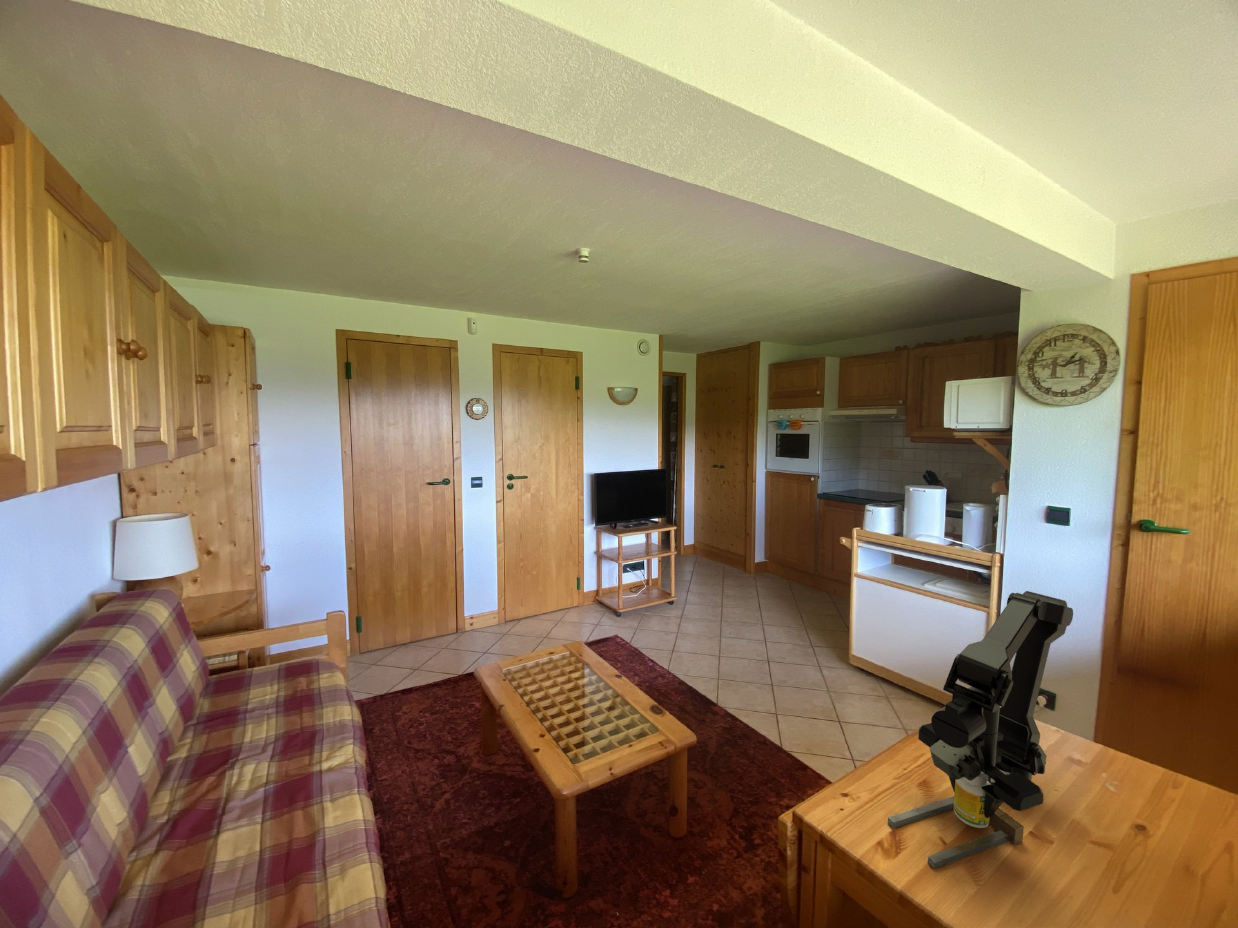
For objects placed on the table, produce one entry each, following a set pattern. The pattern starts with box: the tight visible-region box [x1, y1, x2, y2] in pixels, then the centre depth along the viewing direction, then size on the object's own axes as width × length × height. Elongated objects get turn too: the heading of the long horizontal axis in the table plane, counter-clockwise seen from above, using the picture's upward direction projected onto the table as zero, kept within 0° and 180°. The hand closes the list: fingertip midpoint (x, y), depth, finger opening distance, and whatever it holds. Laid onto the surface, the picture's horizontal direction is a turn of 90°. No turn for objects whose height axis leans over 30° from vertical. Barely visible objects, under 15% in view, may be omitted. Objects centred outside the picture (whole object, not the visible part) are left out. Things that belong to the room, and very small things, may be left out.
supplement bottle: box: [953, 773, 990, 829], centre depth 88 cm, size 5×5×10 cm
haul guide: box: [887, 795, 1025, 870], centre depth 87 cm, size 19×11×3 cm, turn 107°
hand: (971, 804), depth 88 cm, fingers closed on supplement bottle, 5 cm apart
